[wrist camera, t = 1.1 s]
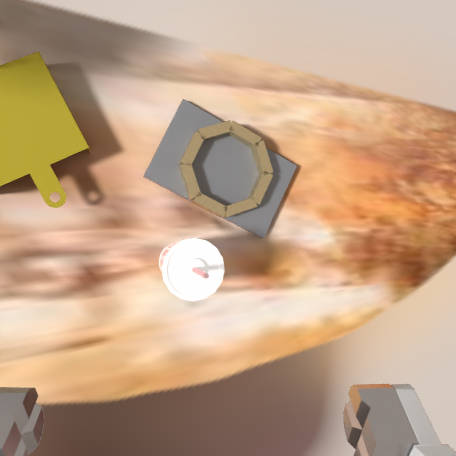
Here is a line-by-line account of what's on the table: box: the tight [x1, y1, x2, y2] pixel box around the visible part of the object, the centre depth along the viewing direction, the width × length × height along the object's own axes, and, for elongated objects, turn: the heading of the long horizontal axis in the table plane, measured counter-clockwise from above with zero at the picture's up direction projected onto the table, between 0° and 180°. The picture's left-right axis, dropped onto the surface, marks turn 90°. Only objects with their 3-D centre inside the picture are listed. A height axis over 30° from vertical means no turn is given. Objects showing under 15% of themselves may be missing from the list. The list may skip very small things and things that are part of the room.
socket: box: [178, 121, 273, 217], centre depth 48 cm, size 10×10×2 cm
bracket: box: [0, 52, 90, 208], centre depth 41 cm, size 16×8×15 cm
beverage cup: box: [159, 238, 225, 301], centre depth 42 cm, size 6×6×14 cm
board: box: [143, 99, 297, 238], centre depth 50 cm, size 16×10×1 cm, turn 64°
